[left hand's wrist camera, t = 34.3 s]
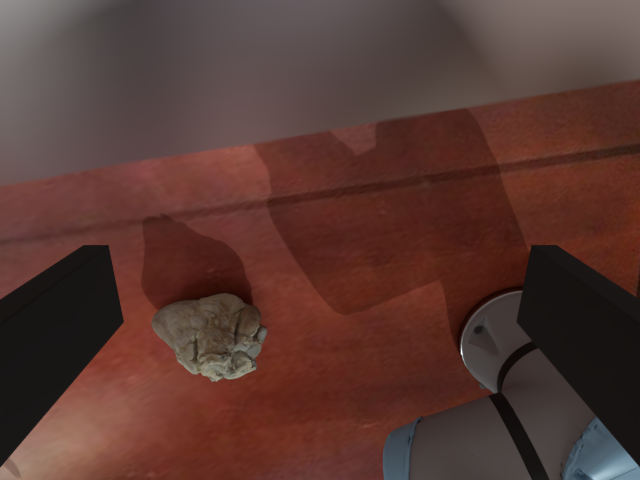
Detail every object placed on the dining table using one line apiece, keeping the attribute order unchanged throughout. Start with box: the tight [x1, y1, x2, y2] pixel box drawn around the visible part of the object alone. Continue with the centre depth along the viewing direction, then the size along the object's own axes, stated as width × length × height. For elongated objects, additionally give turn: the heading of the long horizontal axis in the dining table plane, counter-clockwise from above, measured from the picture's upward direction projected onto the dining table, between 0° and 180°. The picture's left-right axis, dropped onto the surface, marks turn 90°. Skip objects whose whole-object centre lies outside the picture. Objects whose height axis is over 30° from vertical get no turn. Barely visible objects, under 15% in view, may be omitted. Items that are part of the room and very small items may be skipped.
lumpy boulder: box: [152, 293, 267, 382], centre depth 50 cm, size 11×11×15 cm
